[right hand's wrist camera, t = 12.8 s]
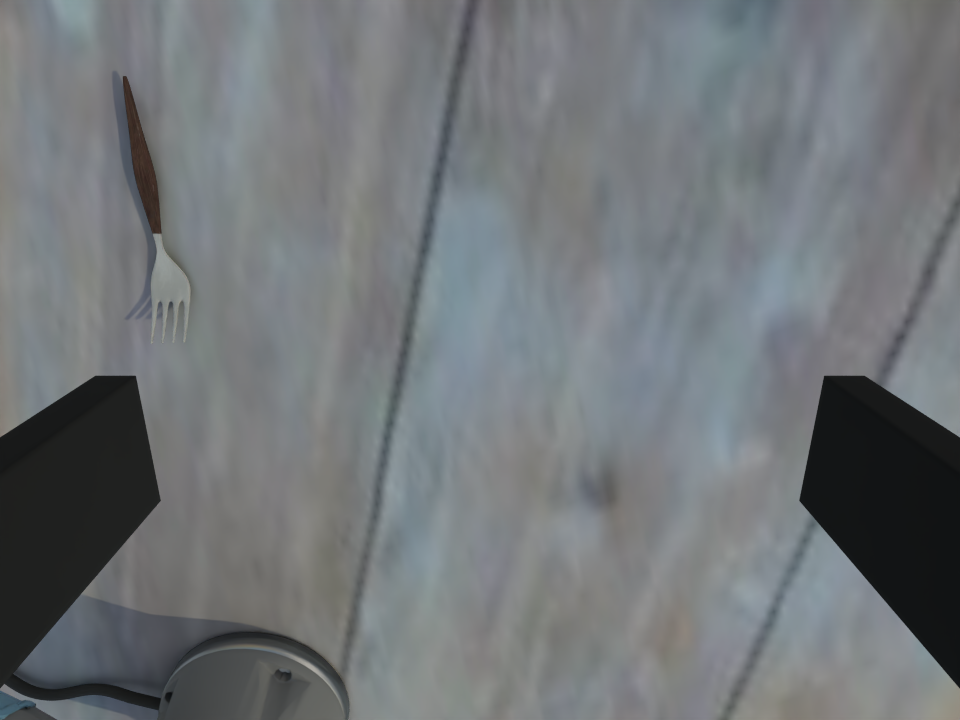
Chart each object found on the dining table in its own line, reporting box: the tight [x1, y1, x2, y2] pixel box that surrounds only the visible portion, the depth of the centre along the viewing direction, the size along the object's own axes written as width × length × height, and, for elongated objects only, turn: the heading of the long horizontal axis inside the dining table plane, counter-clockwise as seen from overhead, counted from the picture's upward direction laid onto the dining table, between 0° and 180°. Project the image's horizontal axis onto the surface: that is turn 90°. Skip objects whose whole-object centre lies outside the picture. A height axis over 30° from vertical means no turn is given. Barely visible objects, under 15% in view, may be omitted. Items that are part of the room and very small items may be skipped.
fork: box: [123, 76, 191, 344], centre depth 39 cm, size 3×16×2 cm, turn 2°
